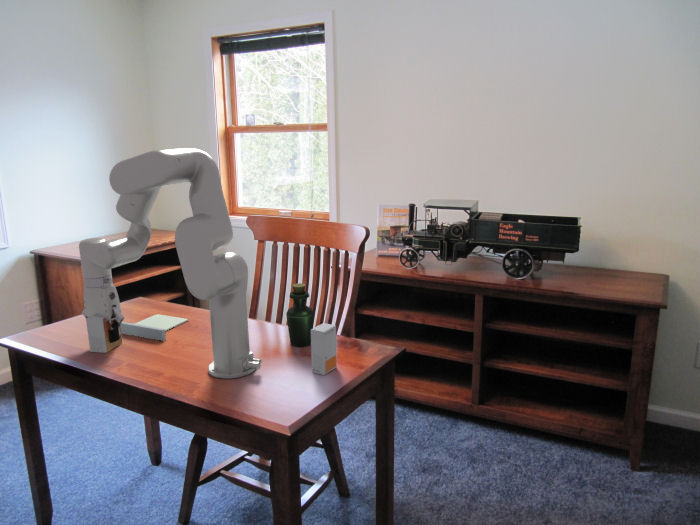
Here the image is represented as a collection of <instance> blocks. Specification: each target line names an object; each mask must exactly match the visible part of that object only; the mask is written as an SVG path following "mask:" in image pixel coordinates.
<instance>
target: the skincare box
mask: <svg viewBox="0 0 700 525" xmlns="http://www.w3.org/2000/svg"><path fill="white" fill-rule="evenodd" d="M310 353H311V354H310V356H311V372H312V373H314V374H318V375H322V376H325V375H327V374H328V373H330V372H332V371H333V370H334V369H336V368H337V325H335V324H331V323H326V322H323V323H321V324H319V325H316V326H315V327H313V329H311V344H310Z"/></svg>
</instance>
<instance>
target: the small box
mask: <svg viewBox="0 0 700 525" xmlns="http://www.w3.org/2000/svg"><path fill="white" fill-rule="evenodd" d="M111 318H112V316H111ZM85 322H86V328H87V330H86V331H87V336H88V343H89V344H88V345H89V351H90V352H91V353H104V354H106V353H107V354H108V353H109V352H110V351H112V350H113V349H116V348H117V347H118V346H120V345H122V344H123V336H122V335H123V334H121V326H120V327H118V329H119V337H120V339H119V340H118V341H115V342H113V343H110V341H109V333H108V330H110V329H109V326H108V323H107V321H106V320H105V318H103V317H97V316H90V317H88V318H86V317H85ZM111 323H112V324H113V323H114V322H113V320H112V321H111Z"/></svg>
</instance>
